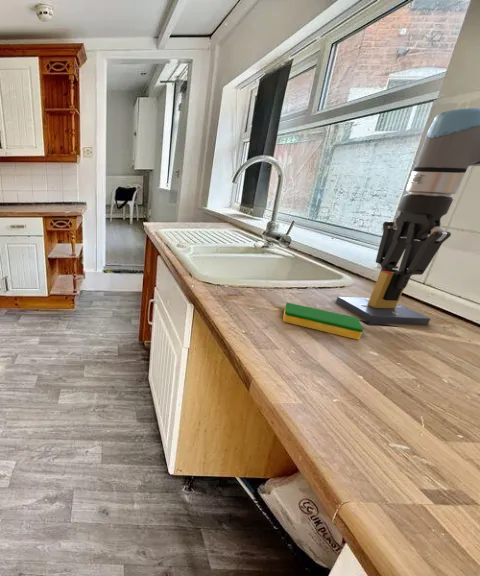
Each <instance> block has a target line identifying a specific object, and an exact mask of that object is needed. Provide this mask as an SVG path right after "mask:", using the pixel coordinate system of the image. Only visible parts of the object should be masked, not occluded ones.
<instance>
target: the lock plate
mask: <svg viewBox="0 0 480 576" xmlns="http://www.w3.org/2000/svg"><path fill="white" fill-rule="evenodd" d="M369 299H370V297H354V296H353V297H352V296H337V298H336V301H335V303H336V304H338V305H339V306H341V307H343V308H345V309H346V310H348V311H349V312H351V313H353V314H355V315H357V316H358V317H360V318H362V319H364V320H362V319H361V320H360V319H359V321H360V322H362V323H363V324H365V325H367V326H369V327H370V326H371V327H390V328H391V327H392V328H400V326H398V325H399V324H400V325H422V326H428V325H429V323H430V321H431V317H428V316H426V315H424V314H422V313H419V312H417V311H415V310H413V309H411V308H409V307H407V306H405V305H403V304H401V303H399V302H398V303H397V306H396V308H395V309H390V308H374V307H372V306H370V305H368V302H369ZM391 324H398V325H391Z"/></svg>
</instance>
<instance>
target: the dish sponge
mask: <svg viewBox="0 0 480 576" xmlns="http://www.w3.org/2000/svg"><path fill="white" fill-rule="evenodd" d="M282 316H283V317H282V322H283V323H287V324H292V325H296V326H301V327H303V328H309V329H313V330H317V331H319V332H324V333H329V334H333V335H337V336H341V337H344V338H349V339H353V340H360V339H361V337H362V334H363V332H364V329H363V327H362V324H361V321H360V319H359V317H356V316H352V315H346V314H342V313H338V312H333V311H328V310H323V309H319V308H315V307H309V306H307V305H306V306H305V305H301V304H296V303H291V302H285V306H284V309H283V315H282Z"/></svg>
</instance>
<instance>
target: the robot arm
mask: <svg viewBox="0 0 480 576" xmlns="http://www.w3.org/2000/svg"><path fill="white" fill-rule="evenodd" d="M469 167H480V107H471V108H469V107H468V108H458V109H450V110H445V111H442V112H441V113H438V114H437V115H436V116H435V117H434V119H433V121H432V123H431V124H430V127H429V129H428V131H427V133H426V134H425V137H424V141H423V144H422V146H421V148H420V152H419V154H418V157H417V160H416V162H415V164H414V168H413V170H412V171H411V175H410V178H409V179H408V181H407V182H408V183H407V185H406V187H405V191H406V192H407V193H405V194H404V195H403V196H402V197H401V199H400V203H399V205H398V207H397V211H398V212H399V215H397V216H396V218H395V219H394V220H390V221H384V222H383V223H382V235H381V239H380V243H379V246H378V251H377V254H376V258H375V263H376V264H379V265H380V267H381V269H380V272H381V271H389V272H395V273H393V276H392V278H391V280H390V283H389V285H388V288H387V290H386V292H385V295H384V297H383V299H384V300H392V301H397V300H398V298H399V296H400V293H401V291H402V289H404V290H405V288H407V285H408V283H409V281H410V279H411V277H412V276H418V275H419V276H421V275H423V274H424V273H425V272H426V270H427V269H428V267H429V266H430V264H431V262H432V260H433V259H434V257H435V255H436V254H437V253H438V251H439V249H440V248H441V246H442V244H444V243H445V241H447V240H448V239H449V238H450V237H451V235H452V233H451V232H450V231H445V230H443V228H441V220H442V217H443V216H446V215H447V214H448V212H449V210H450V208H451V205H452V203H453V201H454V198H453V197H452V195H456V194H457V193H458V190H459V188H460V186H461V183H462V182H463V179H464V176H465V173H466V172H467V171H468V170H467V169H468V168H469ZM400 260H401V262H400ZM399 262H400V265H399V266H398V263H399ZM379 275H380V273H379V274H378V277H379ZM378 277H377V278H378Z"/></svg>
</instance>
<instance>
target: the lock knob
mask: <svg viewBox="0 0 480 576" xmlns="http://www.w3.org/2000/svg"><path fill="white" fill-rule="evenodd" d="M393 273H395V272H389V271H381V270H380V271H379V274H380V275H379V274H378V276H379V277H377V279H376V282H375V285H374V287H373V290H372V291H371V295H370V297H369V298H370V299H369V302H368V305H370V306H372V307H374V308H390V309H395V308H396V306H397V303H398V304H399V301H400V299H401V296H402V294H403V292H404V290H405V288H404V289H402V291H401V293H400V296H399V298H398V300H397V301H392V300H384V299H383V297H384V295H385V292H386V290H387V288H388V285H389V283H390V280H391V278H392V276H393Z"/></svg>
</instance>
